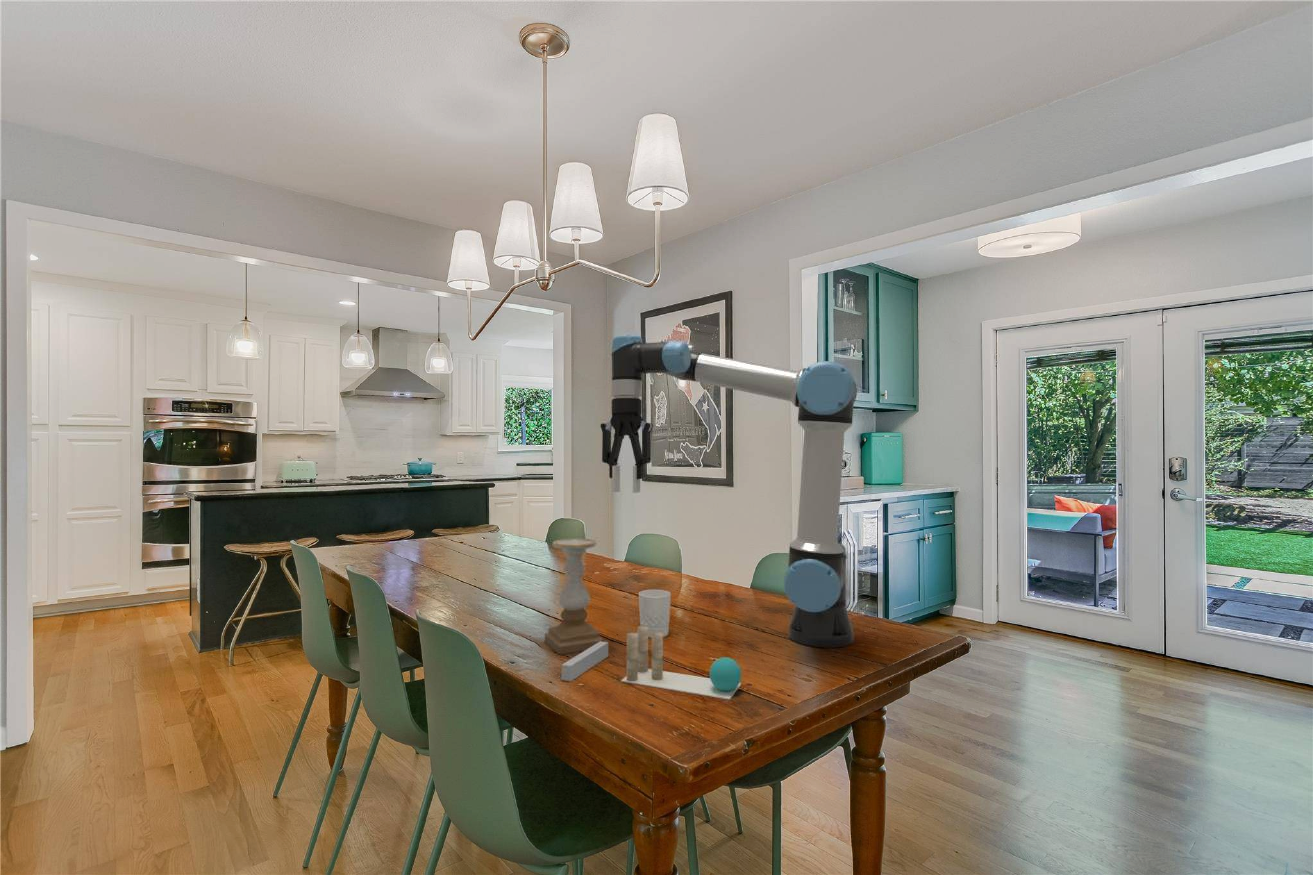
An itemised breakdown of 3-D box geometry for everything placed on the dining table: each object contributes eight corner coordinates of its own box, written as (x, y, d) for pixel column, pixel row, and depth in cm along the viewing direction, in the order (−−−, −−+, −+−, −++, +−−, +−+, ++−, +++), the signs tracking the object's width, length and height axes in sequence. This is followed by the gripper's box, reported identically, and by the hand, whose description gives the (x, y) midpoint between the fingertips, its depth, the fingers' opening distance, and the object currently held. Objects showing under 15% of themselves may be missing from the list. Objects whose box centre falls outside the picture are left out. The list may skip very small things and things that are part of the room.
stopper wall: (608, 656, 136) (608, 642, 136) (570, 681, 121) (570, 666, 121) (600, 654, 137) (600, 641, 137) (561, 679, 122) (561, 664, 122)
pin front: (664, 677, 124) (664, 632, 124) (660, 681, 122) (660, 635, 122) (654, 676, 124) (654, 631, 125) (649, 680, 122) (650, 634, 123)
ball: (744, 686, 119) (745, 655, 119) (736, 698, 114) (736, 665, 114) (714, 682, 121) (715, 651, 122) (705, 693, 116) (705, 661, 116)
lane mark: (741, 684, 120) (741, 683, 120) (729, 699, 113) (729, 698, 113) (637, 668, 129) (637, 667, 129) (621, 681, 122) (621, 680, 122)
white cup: (671, 629, 156) (672, 589, 156) (669, 639, 148) (669, 597, 148) (640, 628, 157) (640, 589, 157) (636, 638, 149) (636, 596, 149)
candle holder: (558, 655, 137) (559, 546, 137) (543, 641, 146) (544, 539, 147) (604, 647, 142) (605, 543, 142) (587, 634, 152) (588, 536, 152)
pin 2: (649, 670, 128) (649, 626, 128) (645, 674, 126) (645, 629, 126) (639, 669, 128) (640, 625, 129) (635, 672, 126) (635, 628, 126)
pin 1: (639, 678, 123) (639, 633, 123) (634, 682, 121) (635, 636, 121) (629, 677, 124) (629, 631, 124) (624, 681, 122) (624, 635, 122)
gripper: (665, 398, 154) (665, 492, 154) (601, 400, 161) (601, 489, 161) (654, 396, 147) (653, 494, 147) (587, 398, 154) (586, 491, 154)
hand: (626, 491), depth 154 cm, fingers open, 5 cm apart
